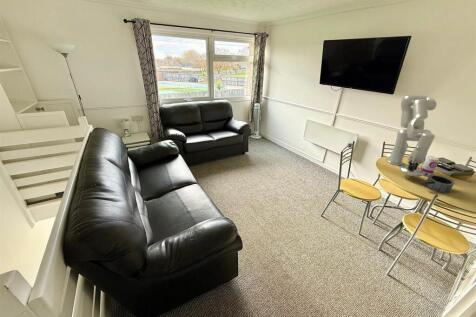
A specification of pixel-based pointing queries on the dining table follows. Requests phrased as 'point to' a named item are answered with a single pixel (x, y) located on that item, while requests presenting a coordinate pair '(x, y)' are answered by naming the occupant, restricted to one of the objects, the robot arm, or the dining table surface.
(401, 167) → the lid
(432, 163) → the supplement can
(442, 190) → the pot
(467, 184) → the dining table surface
